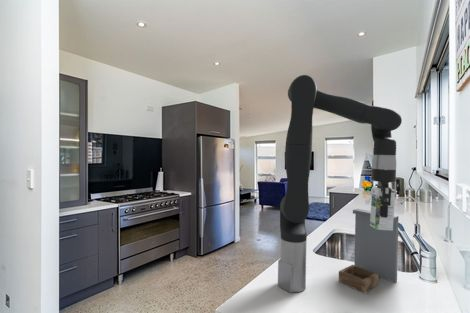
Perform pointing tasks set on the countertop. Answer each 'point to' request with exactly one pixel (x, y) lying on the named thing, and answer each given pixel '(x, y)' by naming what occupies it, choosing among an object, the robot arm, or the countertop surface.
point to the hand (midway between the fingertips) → (381, 214)
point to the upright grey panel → (376, 246)
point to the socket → (358, 278)
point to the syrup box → (375, 217)
